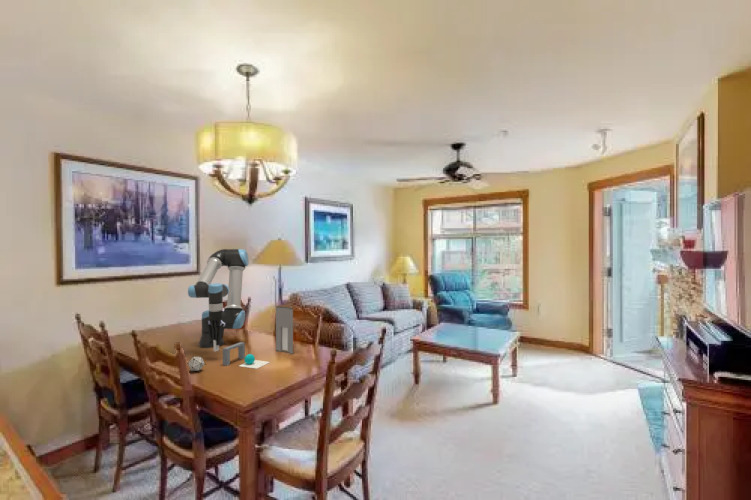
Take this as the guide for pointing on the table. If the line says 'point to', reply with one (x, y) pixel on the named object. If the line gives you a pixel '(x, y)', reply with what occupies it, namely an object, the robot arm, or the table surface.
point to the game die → (196, 363)
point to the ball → (249, 359)
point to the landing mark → (255, 364)
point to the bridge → (227, 350)
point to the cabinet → (284, 328)
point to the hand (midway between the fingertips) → (216, 350)
